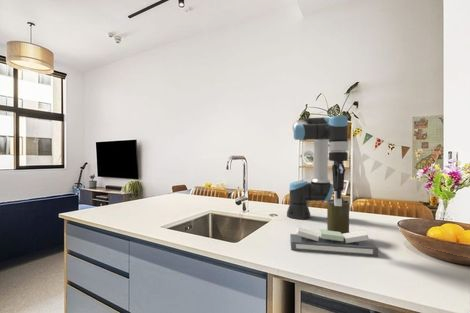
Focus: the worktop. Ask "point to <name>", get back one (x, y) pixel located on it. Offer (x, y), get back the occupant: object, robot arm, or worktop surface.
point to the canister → (338, 216)
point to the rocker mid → (331, 235)
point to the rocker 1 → (307, 233)
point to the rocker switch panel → (333, 246)
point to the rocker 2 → (355, 236)
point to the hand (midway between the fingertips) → (338, 205)
